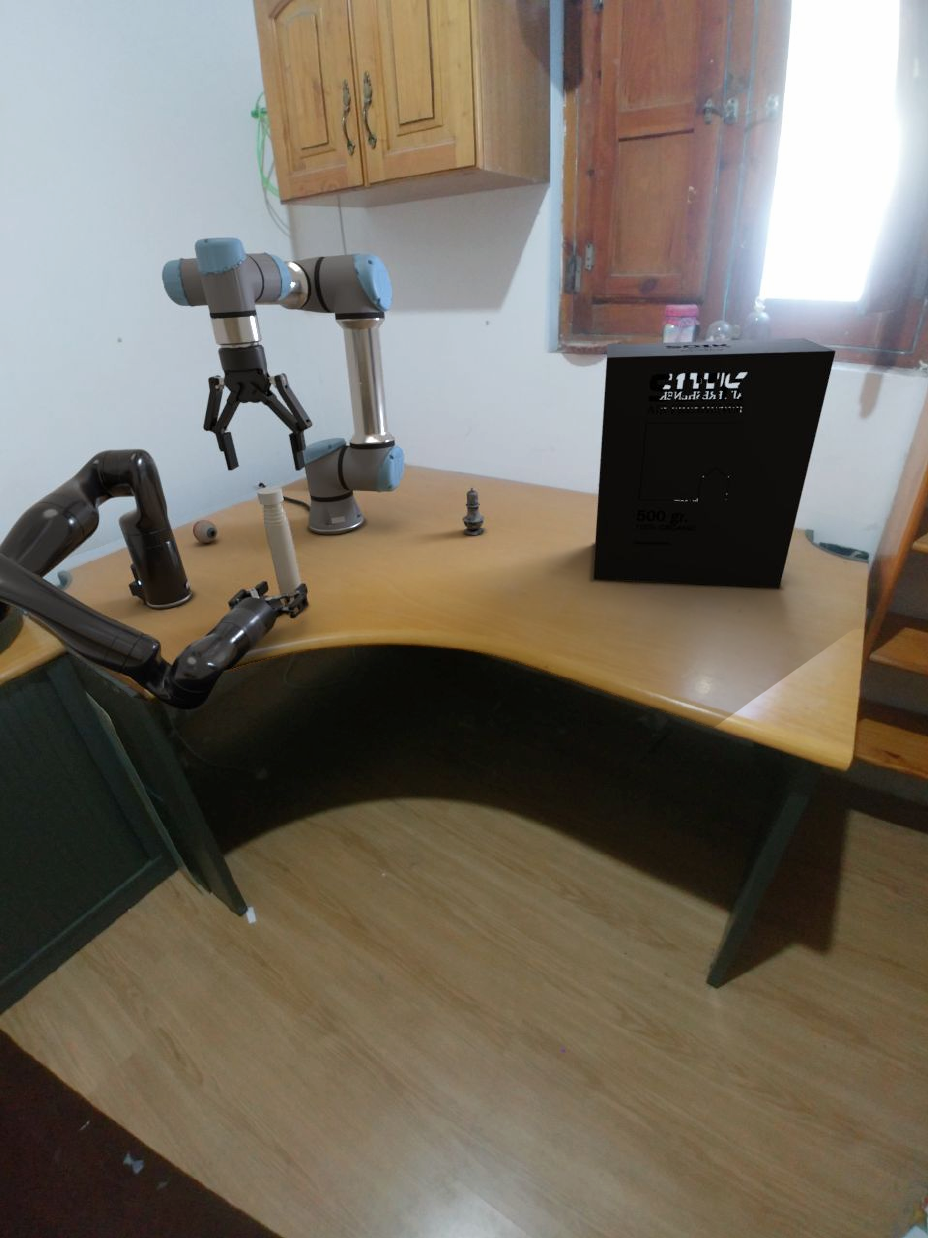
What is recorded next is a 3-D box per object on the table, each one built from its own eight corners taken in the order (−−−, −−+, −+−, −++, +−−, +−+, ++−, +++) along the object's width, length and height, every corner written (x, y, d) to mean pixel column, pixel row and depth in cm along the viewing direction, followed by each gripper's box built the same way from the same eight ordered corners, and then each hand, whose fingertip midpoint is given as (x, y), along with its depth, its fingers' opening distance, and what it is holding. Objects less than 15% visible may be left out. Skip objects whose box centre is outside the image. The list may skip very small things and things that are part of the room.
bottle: (302, 613, 126) (277, 495, 113) (281, 613, 126) (253, 496, 113) (308, 602, 130) (285, 487, 117) (287, 602, 130) (261, 488, 117)
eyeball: (206, 547, 159) (200, 526, 156) (191, 543, 162) (185, 522, 159) (225, 539, 164) (219, 518, 161) (210, 536, 167) (204, 515, 164)
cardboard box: (759, 548, 141) (803, 338, 119) (779, 587, 124) (835, 350, 102) (595, 543, 149) (607, 344, 126) (593, 579, 132) (607, 357, 109)
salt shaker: (482, 535, 157) (481, 491, 151) (460, 535, 158) (458, 490, 152) (486, 527, 162) (485, 483, 156) (465, 526, 163) (463, 483, 157)
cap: (279, 504, 114) (277, 493, 113) (256, 505, 114) (253, 494, 113) (286, 496, 118) (284, 485, 117) (264, 497, 118) (261, 486, 117)
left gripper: (215, 640, 113) (257, 600, 126) (284, 646, 110) (320, 604, 124) (204, 605, 109) (250, 567, 123) (276, 610, 106) (314, 571, 120)
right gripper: (317, 339, 103) (336, 462, 114) (186, 345, 108) (216, 462, 119) (299, 344, 97) (321, 474, 108) (161, 350, 102) (195, 474, 112)
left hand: (285, 586), depth 123 cm, fingers open, 8 cm apart
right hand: (266, 468), depth 113 cm, fingers open, 13 cm apart
